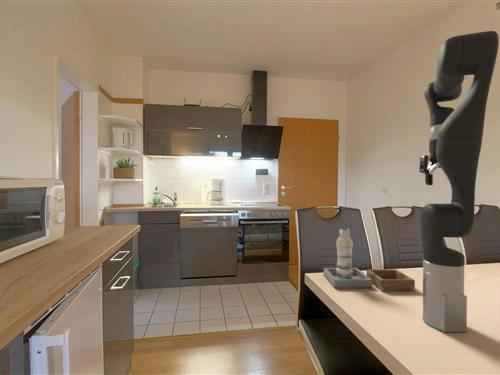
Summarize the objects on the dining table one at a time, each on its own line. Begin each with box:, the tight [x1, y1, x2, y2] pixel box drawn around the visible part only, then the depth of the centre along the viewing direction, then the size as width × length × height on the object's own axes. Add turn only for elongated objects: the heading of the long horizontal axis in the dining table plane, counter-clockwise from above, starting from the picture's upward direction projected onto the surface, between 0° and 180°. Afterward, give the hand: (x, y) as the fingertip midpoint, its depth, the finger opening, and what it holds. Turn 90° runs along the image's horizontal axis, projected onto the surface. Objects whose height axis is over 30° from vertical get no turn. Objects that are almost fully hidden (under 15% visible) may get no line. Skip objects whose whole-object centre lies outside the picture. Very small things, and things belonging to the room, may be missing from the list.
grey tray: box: [323, 267, 373, 289], centre depth 106 cm, size 14×14×3 cm
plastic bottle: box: [335, 228, 354, 279], centre depth 106 cm, size 6×7×20 cm
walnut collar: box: [366, 268, 416, 292], centre depth 102 cm, size 12×12×4 cm
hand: (441, 185), depth 93 cm, fingers open, 8 cm apart
